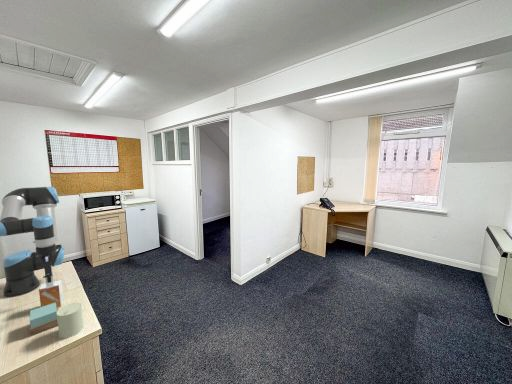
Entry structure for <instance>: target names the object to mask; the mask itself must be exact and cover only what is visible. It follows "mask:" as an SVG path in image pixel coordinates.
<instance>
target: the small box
mask: <svg viewBox="0 0 512 384" xmlns="http://www.w3.org/2000/svg"><path fill="white" fill-rule="evenodd" d="M53 284H54V287H51V288H48V289H47V288H46V282H44V283H41V284H40V286H39V287H38V288H39V289H38V294H39V304H40V307H43V306H46V305H49V304H52V303H55V302H56V308H59V307H60V308H62V305H63V303H64V293H63V283H62V279H59V280H55V281H54V280H53Z"/></svg>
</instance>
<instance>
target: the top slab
mask: <svg viewBox="0 0 512 384" xmlns="http://www.w3.org/2000/svg"><path fill="white" fill-rule="evenodd" d="M57 309H58V307H56V302H55V303H52V304H49V305H46V306H43V307H41V306H39V307H38V308H35V309H32V310H30V314H29V328H30V327H31V328H33V327H36V326H39V325H42V324H44V323H47V322H50V321H52V320H55V319H57V315H56V313H57Z"/></svg>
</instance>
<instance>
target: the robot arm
mask: <svg viewBox="0 0 512 384" xmlns="http://www.w3.org/2000/svg"><path fill="white" fill-rule="evenodd" d="M59 203H60V199H59V196H58V192H57V190H56V187H54V186H39V187H38V186H37V187H20V188H16V189H14V190H11V191H10V192H8V193H7V194H5V196H3V198H2V200H1V205H2V210H1V213H0V214H1V215H0V237H6V236H13V235H19V234H26V233H27V234H28V233H33V237H34V240H33V241H32V243H34V244H35V251H32V250H29V249H28V250H21V251H18V252H15V253H12V254H9V255H8V256H6V257H5V258H4V259H3V269H4V274H5V275H4V276H5V284H4V286H3V291H2V292H3V296H4V297H7V298H10V297H11V298H13V297H19V296H22V295H26V294H28V293H30V292H32V291H34V290H36V289H38V288H40V286H41V284H40V280H39V278H38V277H37V276H36V274H35V272H36V271H39V270H44V276H43V278H44V279H45V283H46V288H47V289H48V288H51V287H54V284H53V281H54V273H53V272H54V271H53V267H57V266H60V265H63V263H64V259H65V246H62V244H61V243H60V242H59V241H58V231H57V230H58V229H57V224H56V223H57V222H56V214H55V208H56V207H57V204H59ZM26 206H32V208H33V209H34V210H36V217H30V218H22V215H23V207H26Z"/></svg>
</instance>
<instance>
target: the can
mask: <svg viewBox="0 0 512 384" xmlns="http://www.w3.org/2000/svg"><path fill="white" fill-rule="evenodd" d="M56 315H57V321H58V326H57V328H58V337H59V338H60V339H68V338H72V337H73V336H76V335H77V334H79V333H80V332H82V330H83V329H84V328H85V324H84V318H83V316H84V315H83V304H82V303H81V302H72V303H68V304H66V305H63V306H61V307H60V308H58V311H57V313H56Z"/></svg>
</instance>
